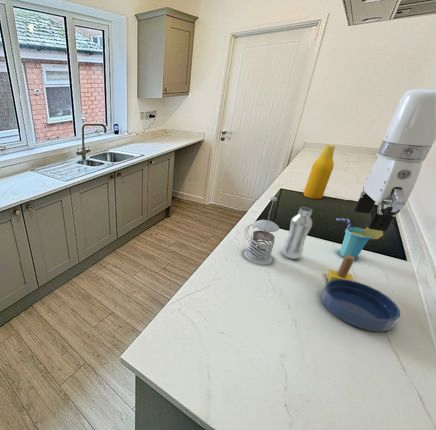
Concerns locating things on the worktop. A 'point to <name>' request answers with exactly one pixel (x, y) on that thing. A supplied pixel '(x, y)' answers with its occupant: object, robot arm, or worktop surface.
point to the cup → (356, 239)
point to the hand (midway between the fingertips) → (368, 220)
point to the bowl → (360, 305)
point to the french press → (259, 252)
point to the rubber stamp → (342, 270)
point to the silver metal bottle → (297, 233)
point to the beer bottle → (320, 174)
